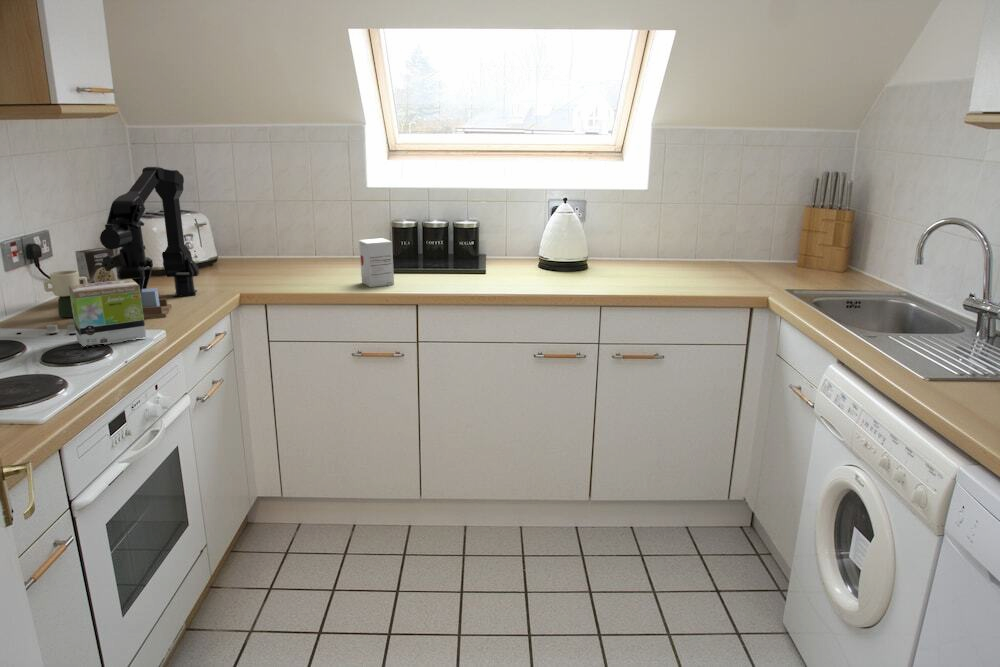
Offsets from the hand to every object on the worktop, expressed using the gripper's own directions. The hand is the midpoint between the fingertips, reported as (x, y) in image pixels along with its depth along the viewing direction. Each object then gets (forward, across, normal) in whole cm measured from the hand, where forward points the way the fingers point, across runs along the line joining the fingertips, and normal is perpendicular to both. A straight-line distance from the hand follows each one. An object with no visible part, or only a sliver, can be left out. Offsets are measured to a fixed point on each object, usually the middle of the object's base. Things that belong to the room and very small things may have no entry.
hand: (140, 296), depth 216 cm
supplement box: (+5, -20, +71) cm, 74 cm away
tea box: (+6, +27, -3) cm, 28 cm away
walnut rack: (+5, 0, 0) cm, 5 cm away
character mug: (+5, -4, -20) cm, 21 cm away
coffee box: (+5, -25, -16) cm, 30 cm away
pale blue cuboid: (+4, 0, 0) cm, 4 cm away
